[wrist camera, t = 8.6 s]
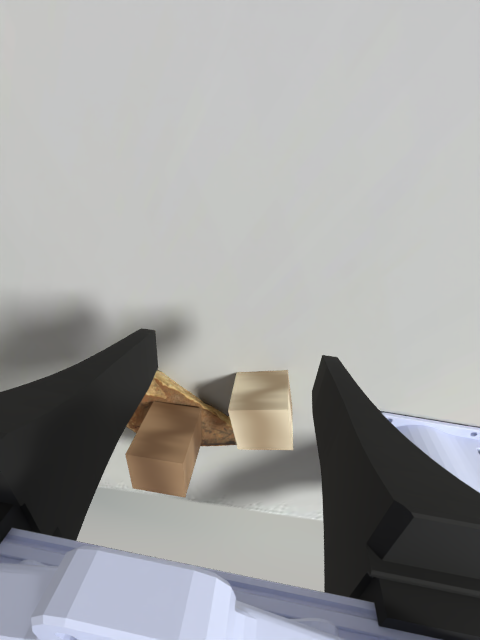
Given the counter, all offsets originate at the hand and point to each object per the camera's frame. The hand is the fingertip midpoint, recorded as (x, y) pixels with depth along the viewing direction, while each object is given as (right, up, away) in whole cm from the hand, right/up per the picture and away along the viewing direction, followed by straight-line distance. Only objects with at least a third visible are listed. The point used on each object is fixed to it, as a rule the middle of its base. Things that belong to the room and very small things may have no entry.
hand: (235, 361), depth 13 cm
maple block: (+2, -5, +14) cm, 15 cm away
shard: (-5, -6, +17) cm, 19 cm away
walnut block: (-6, -8, +15) cm, 18 cm away
